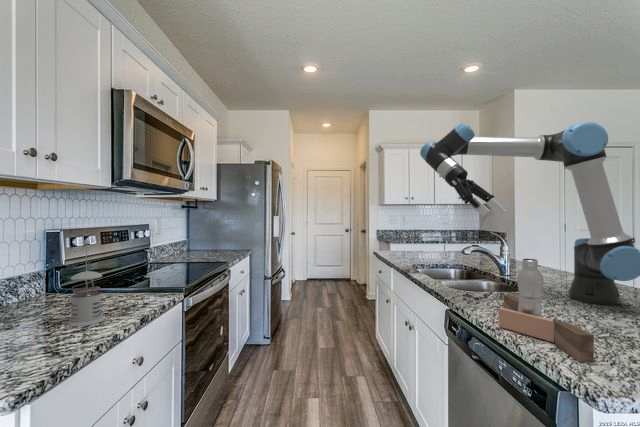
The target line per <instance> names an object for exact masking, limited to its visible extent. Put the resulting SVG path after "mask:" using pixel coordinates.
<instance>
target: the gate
mask: <svg viewBox="0 0 640 427" xmlns="http://www.w3.org/2000/svg"><path fill="white" fill-rule="evenodd" d="M555 322H563V321H562V320H561V319H557V318H554V319H551V318H546V317H544V316H542V317H539V316H534V315H530V314H526V313H522V312H518V311H514V310H509V309H505V308H504V307H500V308H498V327H499V328H502V329H506V330H510V331H513V332H517V333H520V334H524V335H527V336H530V337H534V338H537V339H541V340H544V341H547V342H551V343H554V344H555Z"/></svg>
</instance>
